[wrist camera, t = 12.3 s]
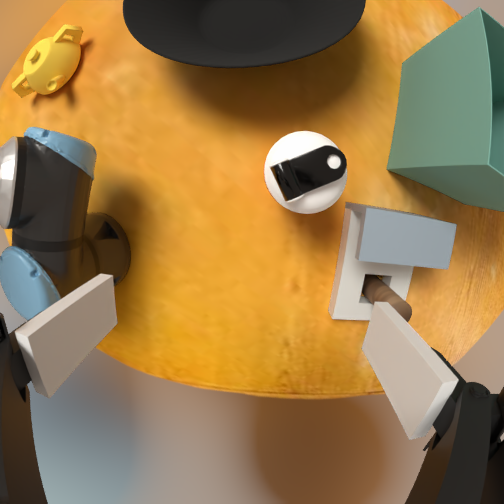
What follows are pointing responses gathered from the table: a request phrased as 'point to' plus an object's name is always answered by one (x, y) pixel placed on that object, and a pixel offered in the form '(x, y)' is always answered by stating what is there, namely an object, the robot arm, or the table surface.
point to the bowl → (240, 29)
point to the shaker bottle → (305, 172)
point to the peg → (385, 295)
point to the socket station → (384, 254)
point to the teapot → (50, 62)
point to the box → (455, 114)
